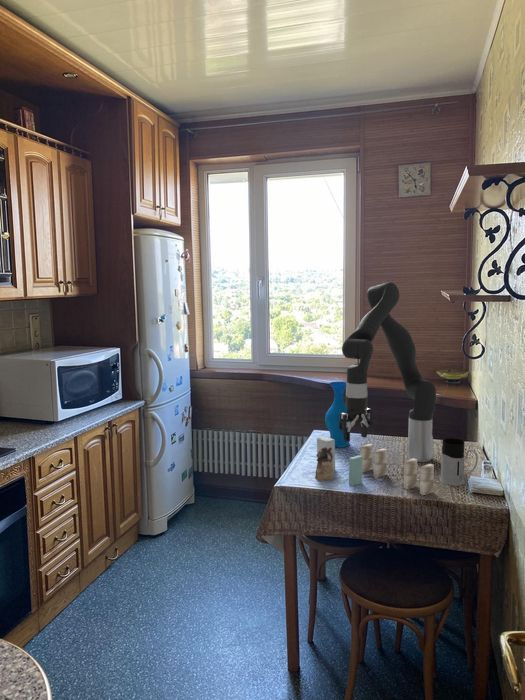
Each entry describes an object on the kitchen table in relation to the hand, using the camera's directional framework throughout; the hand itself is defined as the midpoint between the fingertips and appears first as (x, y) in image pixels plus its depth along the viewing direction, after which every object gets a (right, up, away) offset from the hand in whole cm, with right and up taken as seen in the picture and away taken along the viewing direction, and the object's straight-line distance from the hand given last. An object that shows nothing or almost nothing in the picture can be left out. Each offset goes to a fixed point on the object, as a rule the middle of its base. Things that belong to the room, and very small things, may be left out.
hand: (355, 439), depth 189 cm
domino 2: (+7, -15, +15) cm, 22 cm away
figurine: (-10, -16, +8) cm, 21 cm away
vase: (+1, -11, +47) cm, 49 cm away
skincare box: (-9, -15, +18) cm, 25 cm away
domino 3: (+11, -15, +10) cm, 21 cm away
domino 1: (0, -17, +2) cm, 17 cm away
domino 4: (+19, -17, -2) cm, 25 cm away
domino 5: (+23, -18, -7) cm, 30 cm away
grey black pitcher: (+37, -16, +2) cm, 41 cm away
